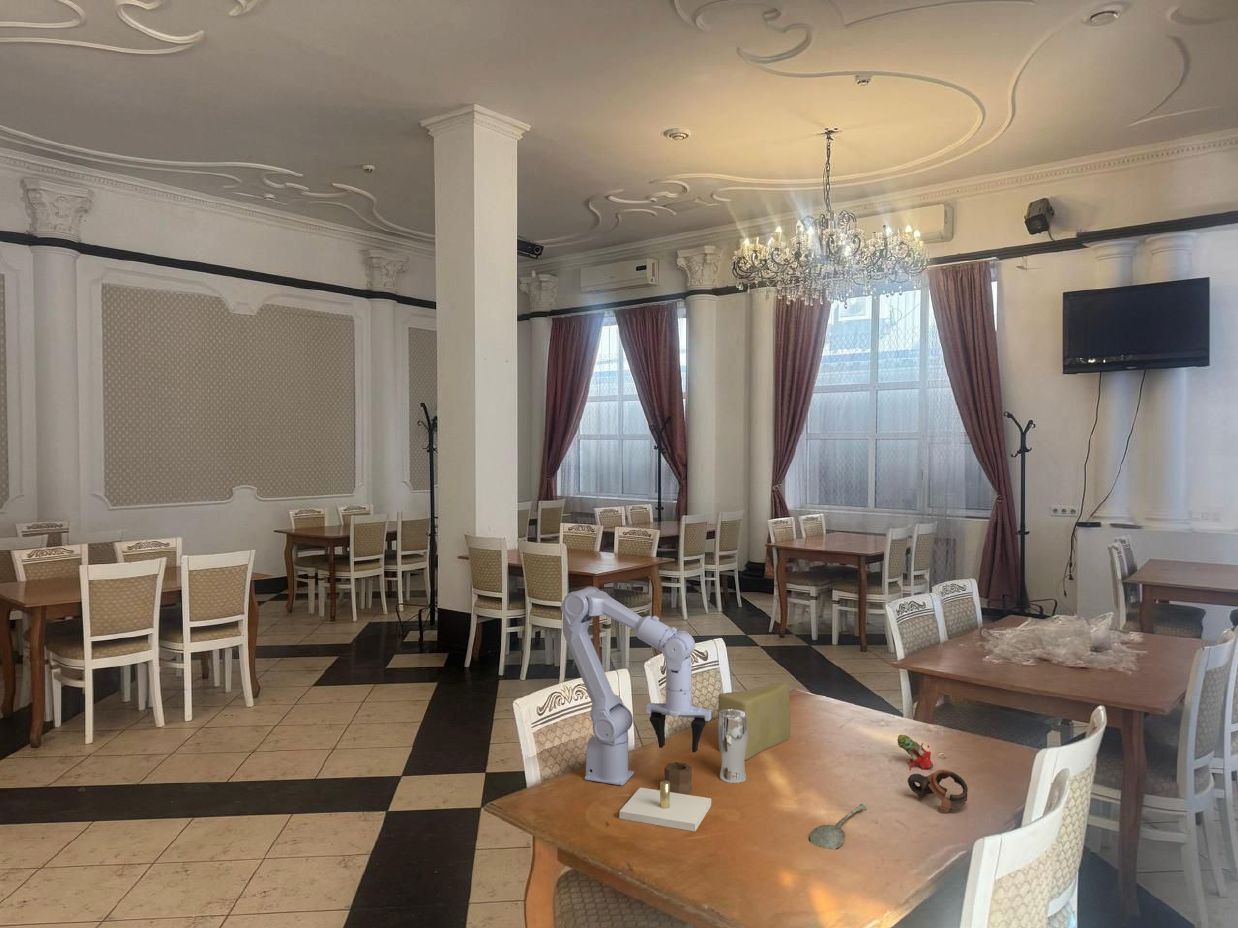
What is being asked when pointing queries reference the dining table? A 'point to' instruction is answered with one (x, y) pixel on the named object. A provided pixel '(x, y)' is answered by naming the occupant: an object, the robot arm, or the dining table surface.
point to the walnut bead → (678, 777)
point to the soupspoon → (832, 832)
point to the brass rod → (664, 794)
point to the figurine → (915, 752)
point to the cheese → (761, 715)
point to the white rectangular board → (679, 815)
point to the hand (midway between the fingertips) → (678, 748)
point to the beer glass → (733, 744)
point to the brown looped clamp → (939, 788)
